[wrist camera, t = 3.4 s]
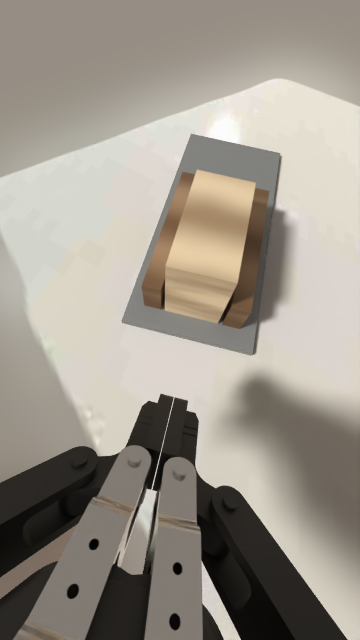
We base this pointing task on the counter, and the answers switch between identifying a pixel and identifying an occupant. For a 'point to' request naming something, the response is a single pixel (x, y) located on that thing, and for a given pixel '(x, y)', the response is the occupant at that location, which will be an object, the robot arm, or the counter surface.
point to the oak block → (208, 246)
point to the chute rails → (245, 288)
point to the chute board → (264, 173)
